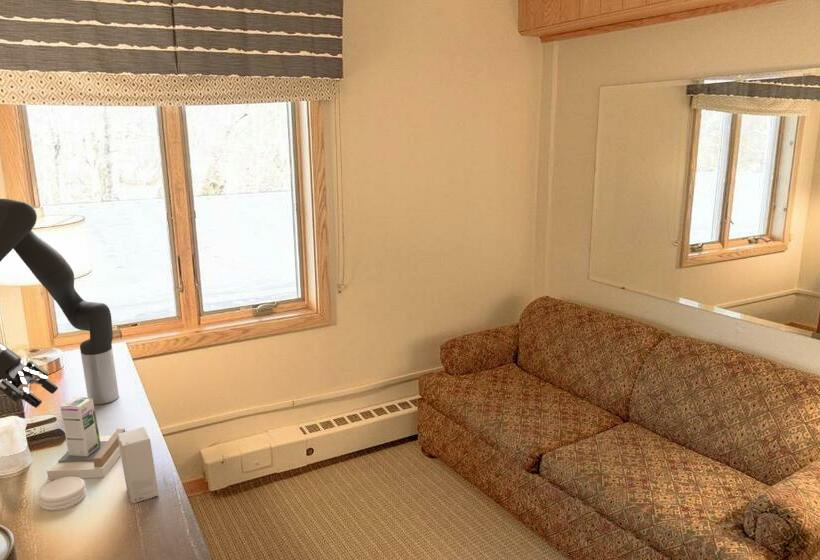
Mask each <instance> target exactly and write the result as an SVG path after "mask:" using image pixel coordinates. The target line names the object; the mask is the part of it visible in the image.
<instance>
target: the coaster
mask: <svg viewBox="0 0 820 560" xmlns="http://www.w3.org/2000/svg"><path fill="white" fill-rule="evenodd" d="M86 496H87V489H86V482H85V479H84V478H78V477H65V478H60V479H57V480H51V481H50V482H48V483H46V484H45V485H43V487H41V488H40V489H39V491H38V501H39V506H40V508H41V509H43V510H44V509H45V510H44V511H48V510H51V511H50V512H55V510H57V511H62V509H63V510H66V509H68V508H71V506H72V507H74V506H75V504H76V505H77V504H79V503H81V501H83V500H84V499H85V497H86ZM65 508H66V509H65Z"/></svg>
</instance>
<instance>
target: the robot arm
mask: <svg viewBox="0 0 820 560" xmlns="http://www.w3.org/2000/svg"><path fill="white" fill-rule="evenodd" d="M37 217H38V215H37V211H36V210H35V208H34V207H33V206H32V205H31V204H29V203H28V202H25V201H20V200H15V199H10V198H0V263H1V261H2V260H4V258H5V257H6V256H8V254H9V253H10V252H11V251H12V250H14V252H16V254H17V255H18V256H19V258H20V260H22V261H23V263H24V264H25V265H26V267H27V268H28V269H29V270H30V272H31V273H32V275H33V276H34V277H35V278H36V279H37V280H38V281H39V283H40V284H41V285H42V286H43V287H44V289H45V290H46V291H47V292H48V293H49V295H50V296H51V298H53V300H54V301H55V302H56V304H57V305H58V306H59V308H60V309H61V311H62V312H63V315H65V317H66V319H67V321H68V322H69V324H70V325H72V327H73V328H74V329H77V330H81V331H85V332H87V331H89V339H85V340H84V341H82V342H80V344H79V349H80V350H79V351H80V357H81V363H82V369H83V377H84V383H85V389H86V394H87V398H92V399H93V403H94V406H95V405H96V406H97V405H104V404H109V403H112V402H114V401H116V400H117V399H118V398H119V397H120V395H119V387H118V379H117V373H116V372H117V371H116V364H115V360H114V353H113V344H112V342H113V340H114V339H113V338H114V337H113V334H114V331H113V323H112V320H113V319H112V313H111V310H110V307H109V306H108V305H107V304H106V303H103V302H96V301H94V302H93V301H86V300H85V299H83V298H82V296H80V294H79V293H78V292H77V290H76V289H75V274H74V271H73V270H74V269H73V268H72V267H71V265H70V264H69V263H68V262H67V260H66V259H65V257H64V256H63V255H62V254H61V253H60V252H59V251H58V250H57V249H55V248H54V247H53V246H52V245H50V243H48V242H47V241H46V240H43V239H42V238H40V237H39V236H38V235H37V234H36V233H35V232H34V231H33V230H32V229H34V227H35V226H36V223H37ZM21 361H22V358H21V357H20V355H18V354H17V353H15V352H13V351H12V350H11V349H9V348H8V347H7V346H5V345H4V344H3V343H2V342H0V391H1V392H2V393H4V394H5V395H6V396H7V397H9V398H10V399H12V401H14V402H18V401H19V400H20V401H25V402H26V403H28V404H29V405H30V406H31V407H33V408H38V407H39V406H40V405H41V404H42V403H43V400H42V399H40V398H39V397H37V396H36V395H35V394H33V393H32V392H30V391H29V388H28V385H29V384H30V385H33V384H36V385H40V386H41V387H42V388H43V389H45V390H46V391H47V392H48V393H50V394H52V395H53V394H54V393H56V392H57V391H58V389H59V387H58V386H57V385H56V384H55V383H53V382H52V381H51V380H49V379H48V375H50V373H49V372H48V371H47V370H46V369H44V368H43V367H41V366H40V365H38V364H37V363H36V362H34V361H33V360H29V361H28V362H27V363H26V364H23V363H22V362H21ZM40 373H41V374H40ZM13 392H14V393H13Z"/></svg>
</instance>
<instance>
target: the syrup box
mask: <svg viewBox="0 0 820 560" xmlns="http://www.w3.org/2000/svg"><path fill="white" fill-rule="evenodd" d="M59 408H60V409H59V410H60V414H61V419H62V424H63V425H62V426H63V430H64V436H65V441H66V446H67V449H68V453H69V455H72V456H85V457H88V456H89V455H90V454H91V453H92V452H94V451H95V450H96V449H97V448H99V447H100V446H101V444H100V438H99V436H100V434H99V429H98V428H99V427H98V423H97V415H96V410H95V404H94V403H93V399H92V398H88V397H84V396H82V397H81V396H80V397H73V398H72V399H70V400H69V401H67V402H66V403H64V404H62V405H61V406H60V407H59Z"/></svg>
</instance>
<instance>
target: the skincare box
mask: <svg viewBox="0 0 820 560" xmlns="http://www.w3.org/2000/svg"><path fill="white" fill-rule="evenodd" d="M117 435H118V442H119V447H120V453H121V456H120V458H121V463H122V470H123V474H124V475H123V476H124V481H125V485H126V491H127V494H128V497H129V499H130V501H131V502H130V503H131V504H137V502H138V503H140V501H141V502H143V500H144V501H146V499H147V500H150V499H153V498H155V496H156V497H159V495H160V494H159V488H158V482H157V480H158V479H157V476H156V475H157V474H156V470H155V469H156V468H155V464H154V456H153V451H152V450H153V449H152V444H151V438H150V436H149V434H148V432H147V430H146V429H145V427H144V426H141V427H138V428H135V429H131V430H127V431H126V430H125V432H123V433H119V434H117ZM152 497H153V498H152ZM149 498H150V499H149Z"/></svg>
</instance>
